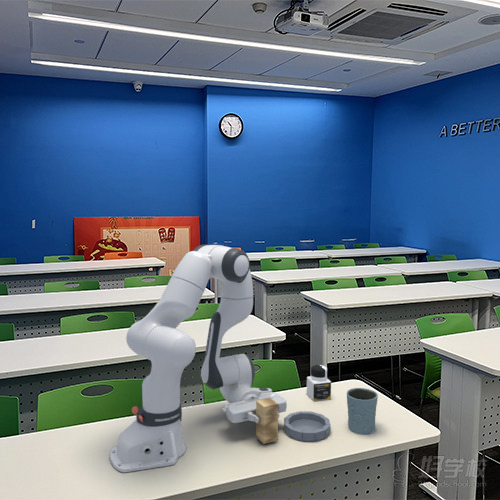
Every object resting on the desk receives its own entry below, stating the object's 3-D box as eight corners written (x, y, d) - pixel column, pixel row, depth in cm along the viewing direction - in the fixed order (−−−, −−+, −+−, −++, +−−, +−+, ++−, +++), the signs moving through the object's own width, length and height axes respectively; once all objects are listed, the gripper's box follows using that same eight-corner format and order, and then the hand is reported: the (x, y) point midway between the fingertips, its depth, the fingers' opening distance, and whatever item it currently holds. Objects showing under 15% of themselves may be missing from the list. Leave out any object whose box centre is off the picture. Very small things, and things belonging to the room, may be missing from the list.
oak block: (263, 444, 151) (264, 406, 150) (255, 436, 156) (256, 400, 154) (277, 440, 154) (278, 403, 152) (269, 433, 158) (270, 397, 157)
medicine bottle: (313, 401, 184) (314, 370, 182) (306, 394, 191) (306, 364, 189) (331, 399, 186) (331, 368, 184) (323, 392, 192) (323, 362, 191)
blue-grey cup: (354, 437, 157) (355, 401, 156) (340, 422, 167) (341, 389, 165) (382, 433, 160) (383, 397, 158) (367, 419, 170) (368, 386, 168)
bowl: (300, 446, 152) (300, 437, 151) (275, 425, 165) (275, 417, 165) (339, 435, 159) (339, 426, 158) (312, 416, 172) (312, 408, 171)
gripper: (219, 398, 160) (238, 415, 148) (273, 387, 169) (295, 402, 157) (219, 416, 161) (238, 435, 149) (273, 404, 170) (295, 421, 158)
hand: (268, 418), depth 153 cm, fingers closed on oak block, 5 cm apart
